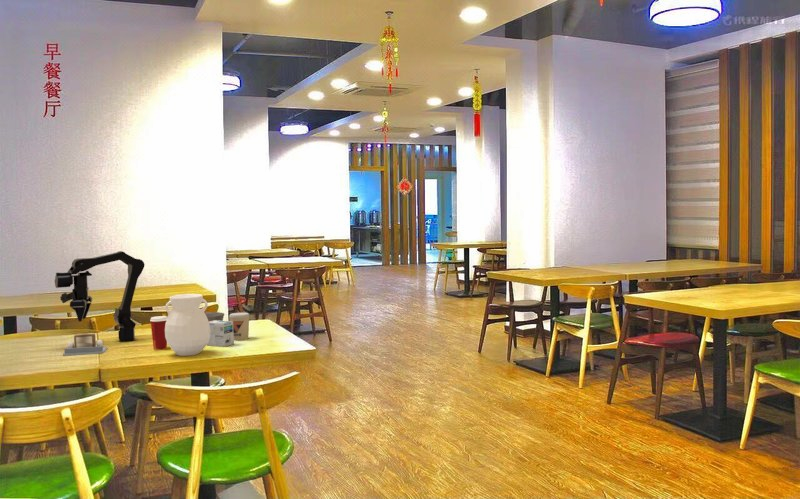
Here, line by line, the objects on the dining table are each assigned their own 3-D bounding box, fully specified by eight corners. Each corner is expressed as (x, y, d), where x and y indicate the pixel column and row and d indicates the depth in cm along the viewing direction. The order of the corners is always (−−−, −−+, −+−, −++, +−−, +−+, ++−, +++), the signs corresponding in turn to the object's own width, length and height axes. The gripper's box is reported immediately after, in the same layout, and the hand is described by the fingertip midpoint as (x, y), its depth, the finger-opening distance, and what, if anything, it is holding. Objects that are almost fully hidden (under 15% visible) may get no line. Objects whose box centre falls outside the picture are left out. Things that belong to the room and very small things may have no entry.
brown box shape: (95, 349, 300) (95, 333, 299) (94, 350, 297) (93, 334, 296) (76, 350, 298) (75, 334, 297) (74, 351, 295) (73, 335, 294)
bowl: (234, 332, 342) (233, 312, 341) (202, 339, 324) (201, 318, 324) (205, 329, 353) (204, 310, 352) (173, 335, 335) (172, 315, 335)
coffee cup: (225, 340, 320) (224, 314, 319) (237, 336, 328) (236, 312, 328) (242, 341, 316) (241, 315, 316) (254, 337, 325) (253, 312, 324)
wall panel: (107, 348, 305) (107, 337, 305) (103, 353, 294) (102, 342, 294) (68, 351, 301) (68, 340, 301) (63, 355, 290) (62, 344, 290)
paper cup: (172, 347, 305) (171, 316, 305) (161, 350, 298) (160, 318, 297) (158, 346, 308) (157, 315, 307) (146, 349, 301) (145, 318, 300)
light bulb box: (234, 344, 309) (233, 320, 309) (224, 347, 303) (224, 323, 303) (215, 342, 314) (215, 319, 313) (206, 345, 308) (205, 321, 307)
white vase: (167, 360, 278) (165, 299, 276) (163, 351, 295) (161, 294, 293) (214, 355, 285) (212, 296, 284) (208, 347, 302) (206, 291, 301)
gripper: (66, 284, 318) (67, 318, 319) (56, 289, 300) (58, 324, 301) (91, 283, 321) (93, 316, 322) (83, 287, 303) (85, 322, 304)
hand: (82, 319), depth 312 cm, fingers open, 9 cm apart
